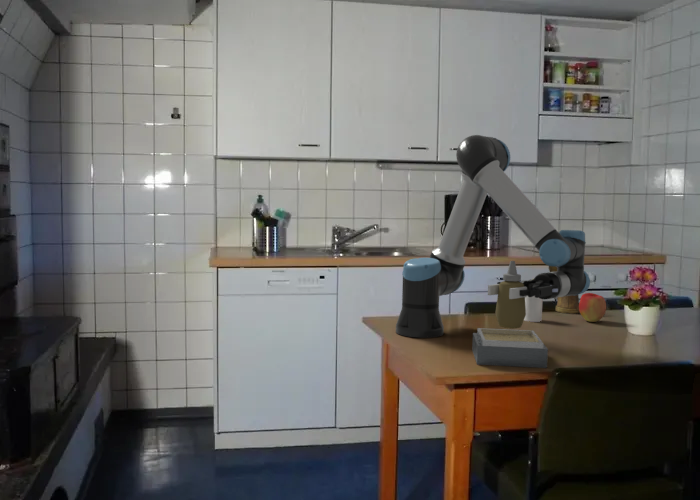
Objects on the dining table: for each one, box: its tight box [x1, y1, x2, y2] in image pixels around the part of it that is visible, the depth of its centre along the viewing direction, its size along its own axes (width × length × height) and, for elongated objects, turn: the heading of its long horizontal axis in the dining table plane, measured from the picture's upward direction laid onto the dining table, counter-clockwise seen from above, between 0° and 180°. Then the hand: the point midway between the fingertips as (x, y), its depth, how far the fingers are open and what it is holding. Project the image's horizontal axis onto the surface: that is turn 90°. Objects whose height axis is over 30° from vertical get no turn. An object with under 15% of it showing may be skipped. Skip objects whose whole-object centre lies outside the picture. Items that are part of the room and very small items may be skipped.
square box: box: [471, 327, 549, 369], centre depth 186 cm, size 18×16×6 cm
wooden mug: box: [548, 266, 580, 315], centre depth 261 cm, size 9×14×18 cm, turn 42°
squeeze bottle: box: [495, 260, 526, 330], centre depth 184 cm, size 8×8×18 cm
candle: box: [524, 296, 544, 323], centre depth 241 cm, size 6×6×15 cm
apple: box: [579, 292, 607, 323], centre depth 241 cm, size 10×10×10 cm
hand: (499, 292), depth 181 cm, fingers closed on squeeze bottle, 6 cm apart
